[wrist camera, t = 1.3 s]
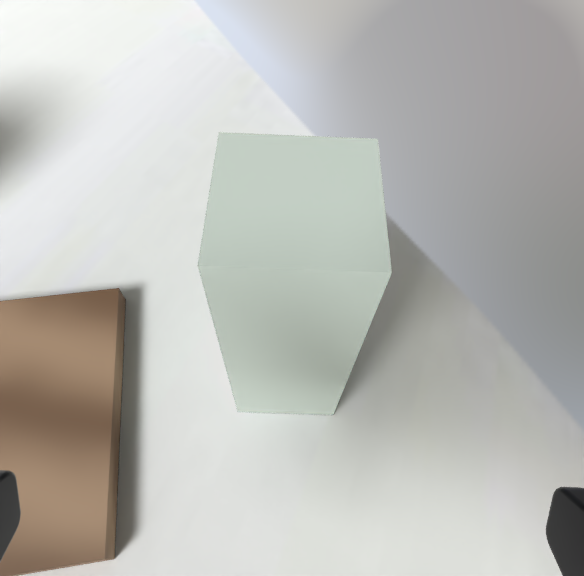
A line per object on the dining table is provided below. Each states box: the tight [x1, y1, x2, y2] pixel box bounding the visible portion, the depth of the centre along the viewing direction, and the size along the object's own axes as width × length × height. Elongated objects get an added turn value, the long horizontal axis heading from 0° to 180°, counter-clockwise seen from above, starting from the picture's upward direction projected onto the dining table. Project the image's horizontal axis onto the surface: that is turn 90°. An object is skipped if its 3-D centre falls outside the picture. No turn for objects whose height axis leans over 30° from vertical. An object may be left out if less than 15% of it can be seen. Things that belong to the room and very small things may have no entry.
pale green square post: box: [198, 132, 392, 415], centre depth 17 cm, size 4×4×12 cm
